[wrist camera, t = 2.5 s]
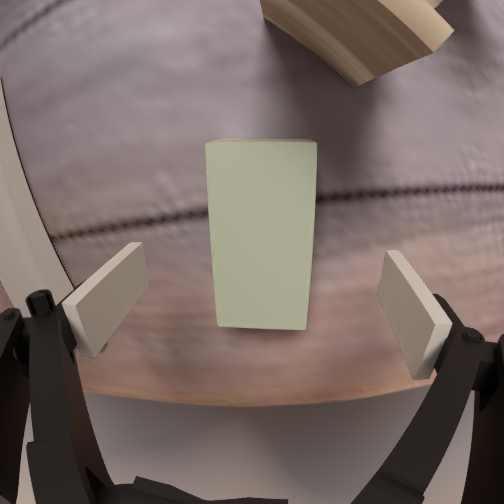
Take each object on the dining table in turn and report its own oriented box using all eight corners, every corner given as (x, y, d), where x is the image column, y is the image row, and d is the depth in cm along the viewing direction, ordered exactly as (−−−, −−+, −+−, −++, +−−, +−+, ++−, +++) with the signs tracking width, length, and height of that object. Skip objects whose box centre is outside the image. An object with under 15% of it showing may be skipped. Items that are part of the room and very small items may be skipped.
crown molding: (108, 337, 30) (94, 358, 27) (49, 344, 32) (35, 360, 29) (4, 75, 19) (-20, 76, 15) (-41, 131, 21) (-61, 136, 18)
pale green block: (222, 138, 20) (205, 143, 16) (309, 139, 20) (317, 143, 15) (229, 289, 25) (217, 326, 21) (302, 292, 25) (305, 329, 20)
